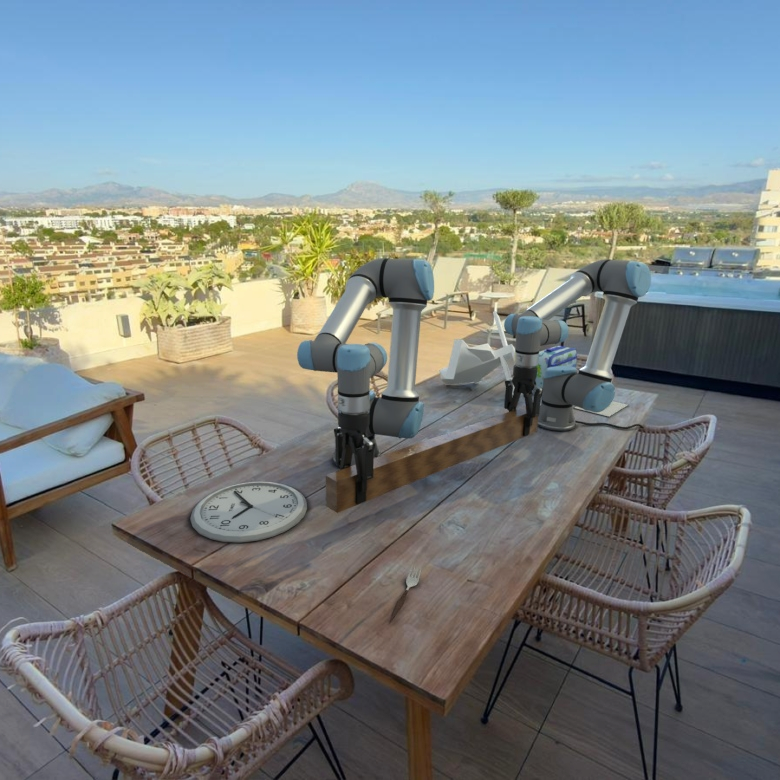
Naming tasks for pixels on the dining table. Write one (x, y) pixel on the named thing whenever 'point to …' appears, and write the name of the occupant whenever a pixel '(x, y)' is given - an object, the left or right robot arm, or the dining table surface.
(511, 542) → the dining table surface
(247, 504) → the wall clock
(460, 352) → the white plastic object
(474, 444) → the beam
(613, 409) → the invitation card
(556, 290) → the right robot arm
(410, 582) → the fork
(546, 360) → the lunch box
